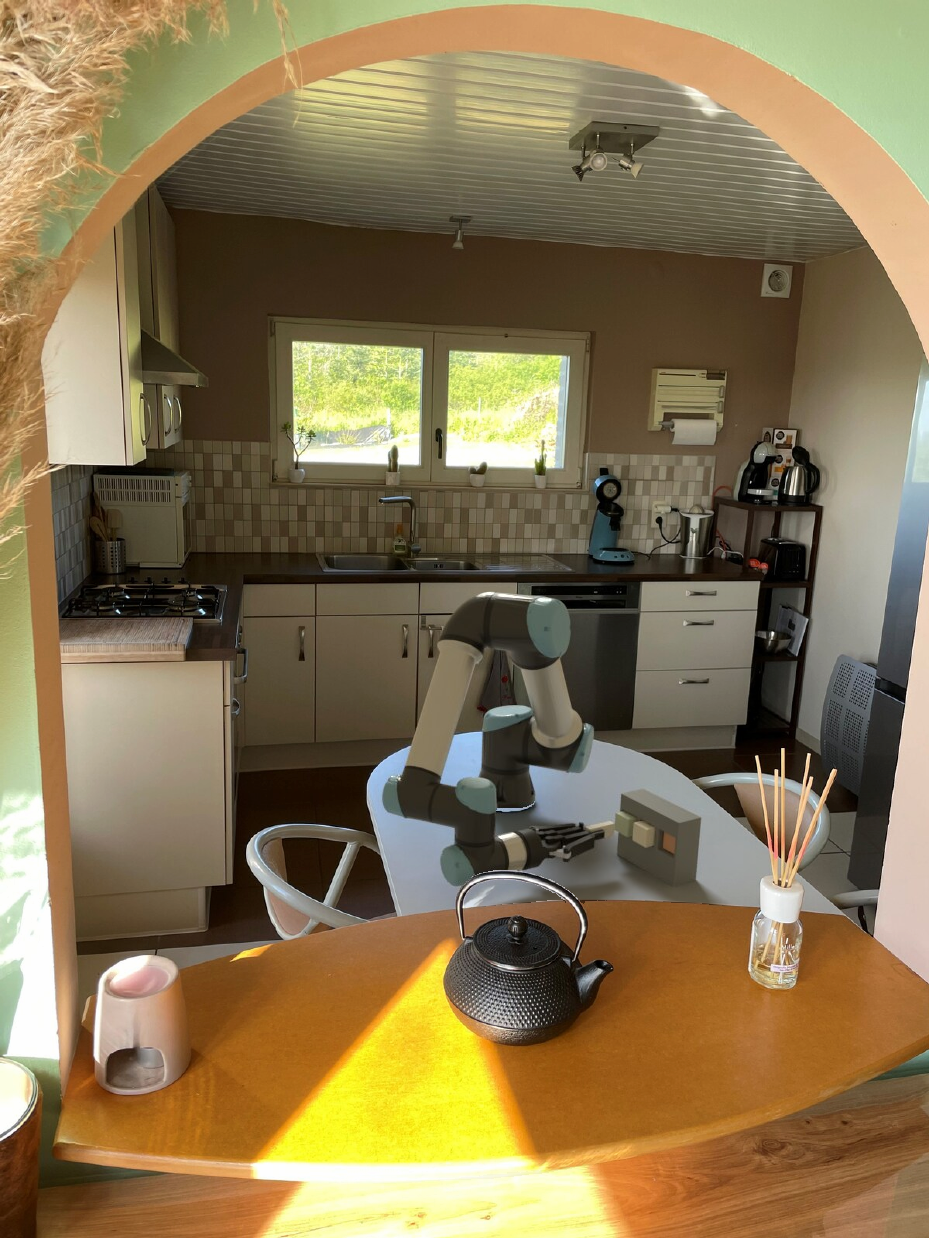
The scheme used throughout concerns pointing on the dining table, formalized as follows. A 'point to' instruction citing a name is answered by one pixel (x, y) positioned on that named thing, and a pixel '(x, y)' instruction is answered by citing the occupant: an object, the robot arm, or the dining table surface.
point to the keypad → (665, 820)
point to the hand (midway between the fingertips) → (611, 828)
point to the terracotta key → (669, 842)
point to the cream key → (644, 833)
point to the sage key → (624, 823)
